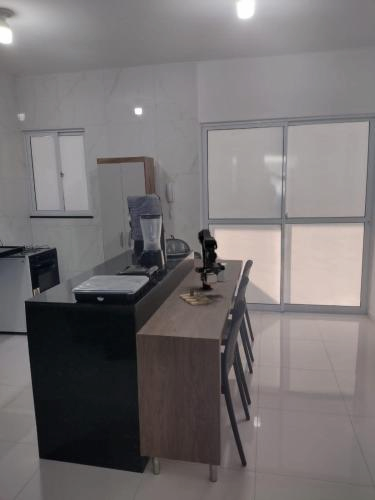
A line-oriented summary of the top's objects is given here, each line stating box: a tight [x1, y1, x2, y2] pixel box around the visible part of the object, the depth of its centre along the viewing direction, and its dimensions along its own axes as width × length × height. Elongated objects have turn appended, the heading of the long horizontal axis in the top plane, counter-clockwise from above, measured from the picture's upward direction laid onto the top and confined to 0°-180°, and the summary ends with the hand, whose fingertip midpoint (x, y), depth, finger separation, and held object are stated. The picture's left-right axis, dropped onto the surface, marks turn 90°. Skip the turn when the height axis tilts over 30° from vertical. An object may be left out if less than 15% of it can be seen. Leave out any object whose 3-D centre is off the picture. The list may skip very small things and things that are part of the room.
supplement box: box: [217, 262, 229, 283], centre depth 276 cm, size 7×7×13 cm
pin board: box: [179, 287, 213, 306], centre depth 230 cm, size 20×13×6 cm, turn 23°
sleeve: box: [204, 273, 218, 286], centre depth 237 cm, size 6×6×6 cm
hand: (210, 281), depth 237 cm, fingers closed on sleeve, 6 cm apart
